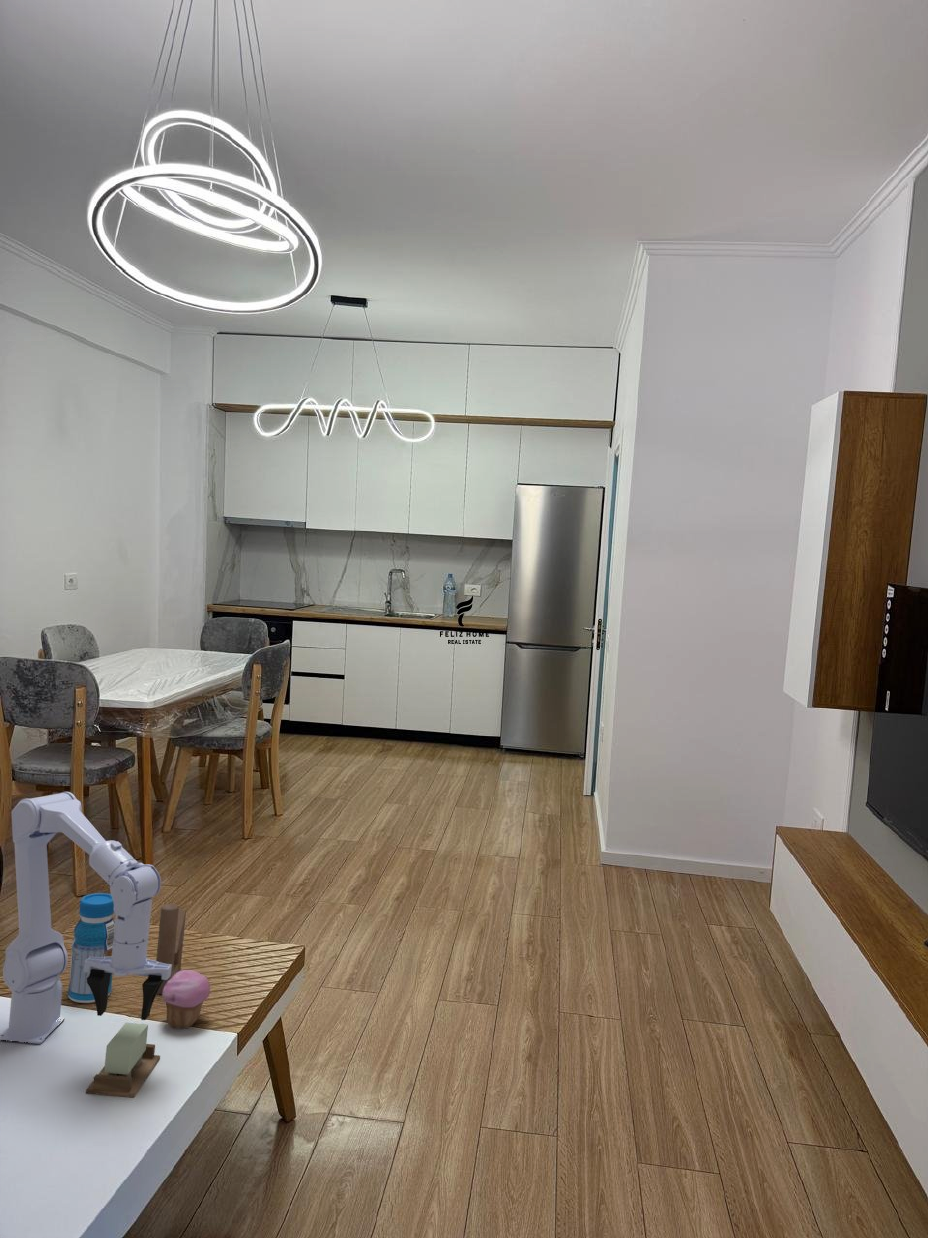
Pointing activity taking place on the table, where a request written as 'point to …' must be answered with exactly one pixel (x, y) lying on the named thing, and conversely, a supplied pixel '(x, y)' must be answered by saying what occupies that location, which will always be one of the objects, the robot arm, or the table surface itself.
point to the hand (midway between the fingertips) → (123, 1015)
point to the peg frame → (125, 1077)
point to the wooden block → (170, 939)
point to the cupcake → (185, 997)
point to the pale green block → (126, 1048)
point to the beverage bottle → (90, 942)
